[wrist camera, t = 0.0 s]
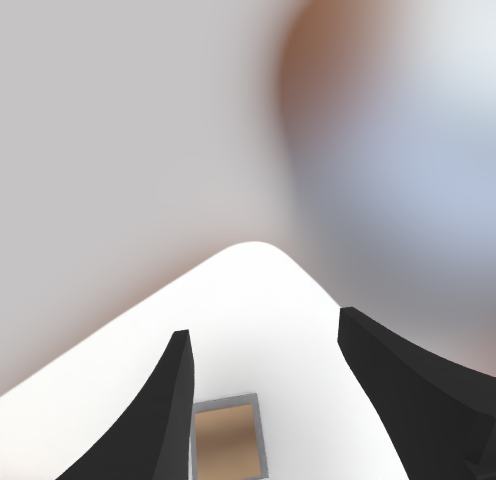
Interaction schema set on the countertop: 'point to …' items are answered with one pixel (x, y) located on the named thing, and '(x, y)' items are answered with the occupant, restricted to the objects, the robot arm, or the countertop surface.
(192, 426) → the charcoal base block
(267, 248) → the countertop surface
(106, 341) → the countertop surface
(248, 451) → the walnut block
